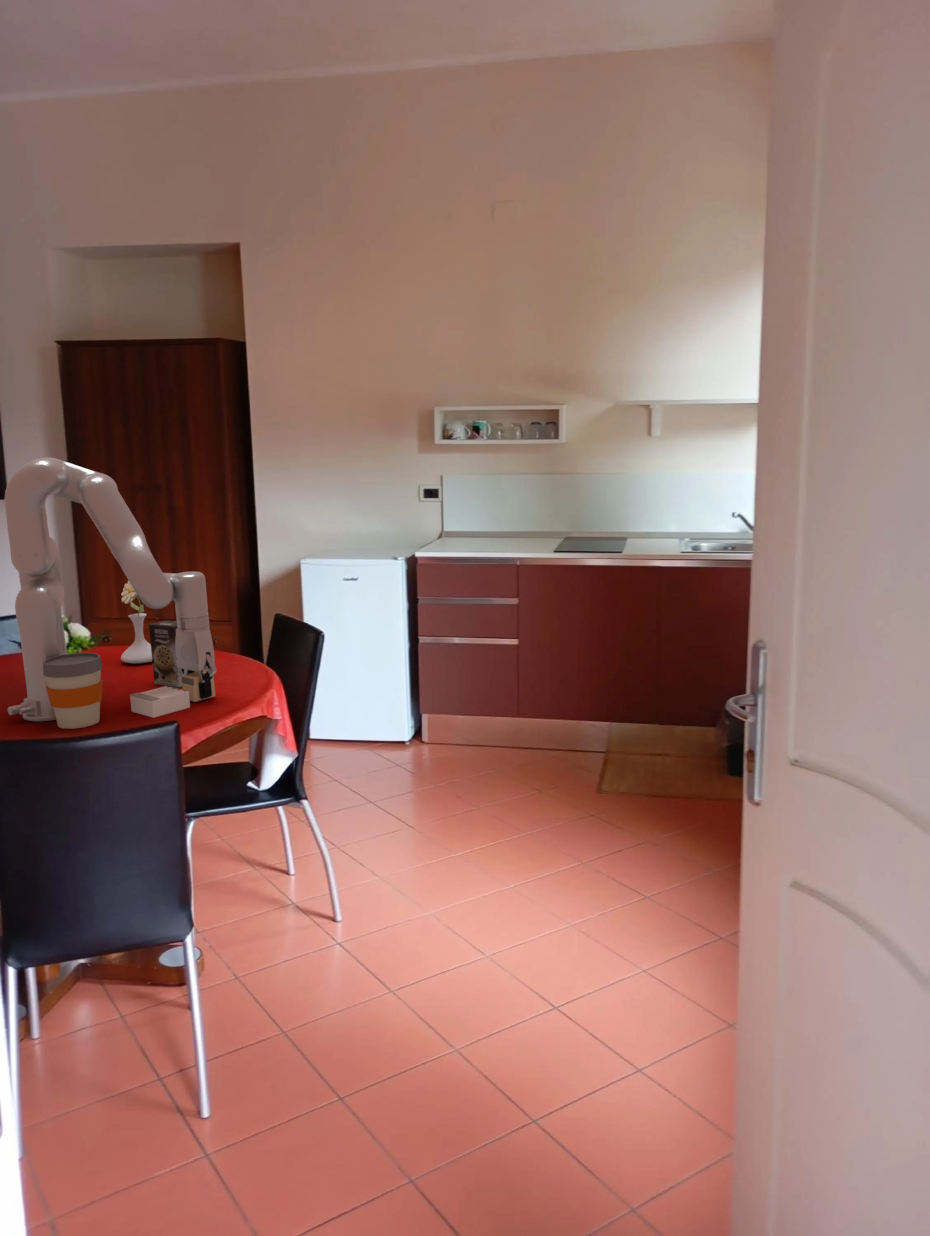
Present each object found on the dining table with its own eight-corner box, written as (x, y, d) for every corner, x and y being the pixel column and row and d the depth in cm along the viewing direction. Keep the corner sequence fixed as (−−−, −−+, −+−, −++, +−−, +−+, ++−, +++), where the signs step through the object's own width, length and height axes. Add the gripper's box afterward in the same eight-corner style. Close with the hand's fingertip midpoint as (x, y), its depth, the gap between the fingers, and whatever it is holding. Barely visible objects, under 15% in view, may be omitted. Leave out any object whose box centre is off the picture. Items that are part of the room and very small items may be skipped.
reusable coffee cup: (89, 731, 219) (81, 665, 216) (37, 730, 221) (29, 665, 219) (118, 715, 231) (111, 652, 228) (69, 714, 234) (62, 652, 231)
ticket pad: (153, 717, 228) (151, 700, 227) (131, 711, 234) (129, 694, 233) (190, 707, 236) (188, 690, 235) (168, 701, 241) (166, 685, 241)
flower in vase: (119, 660, 288) (110, 575, 283) (159, 655, 293) (151, 571, 288) (124, 669, 276) (115, 581, 272) (166, 664, 281) (158, 577, 276)
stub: (194, 701, 239) (192, 677, 238) (183, 699, 242) (181, 675, 241) (215, 696, 244) (213, 672, 243) (204, 693, 247) (202, 670, 246)
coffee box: (153, 684, 259) (147, 624, 256) (171, 678, 264) (165, 619, 261) (179, 687, 255) (173, 626, 252) (196, 681, 260) (191, 621, 257)
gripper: (159, 622, 242) (166, 694, 245) (201, 629, 231) (207, 704, 235) (185, 617, 248) (191, 687, 251) (227, 623, 237) (233, 697, 240)
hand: (199, 695), depth 243 cm, fingers closed on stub, 4 cm apart
